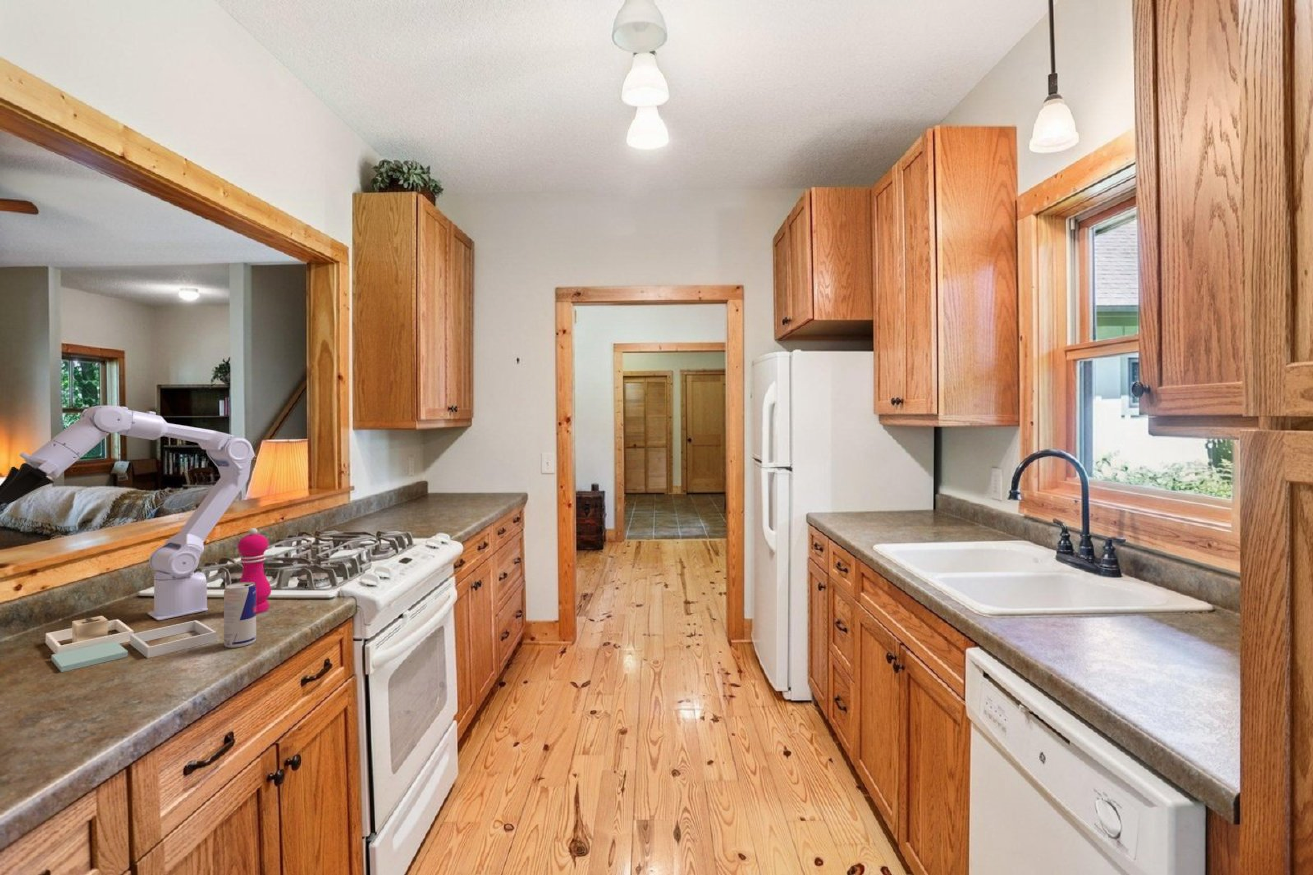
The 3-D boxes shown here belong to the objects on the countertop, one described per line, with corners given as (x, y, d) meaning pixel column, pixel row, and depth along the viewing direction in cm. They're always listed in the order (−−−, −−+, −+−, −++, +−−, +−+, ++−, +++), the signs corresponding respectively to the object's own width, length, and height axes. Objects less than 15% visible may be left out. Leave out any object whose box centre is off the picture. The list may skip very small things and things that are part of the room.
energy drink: (262, 640, 120) (262, 583, 120) (236, 649, 115) (236, 589, 115) (244, 637, 122) (244, 580, 122) (217, 646, 117) (217, 587, 117)
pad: (115, 646, 116) (115, 641, 116) (127, 656, 111) (127, 651, 111) (51, 660, 109) (51, 654, 109) (61, 672, 104) (61, 666, 104)
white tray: (118, 628, 126) (118, 619, 126) (133, 640, 119) (133, 630, 119) (45, 643, 117) (45, 633, 117) (57, 657, 110) (57, 646, 110)
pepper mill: (236, 617, 134) (236, 531, 134) (233, 610, 140) (233, 527, 139) (273, 611, 139) (273, 528, 139) (268, 604, 144) (268, 524, 144)
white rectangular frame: (196, 629, 126) (196, 620, 126) (216, 641, 119) (216, 631, 119) (130, 644, 117) (130, 634, 117) (147, 658, 110) (147, 647, 110)
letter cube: (102, 636, 121) (102, 615, 121) (107, 641, 119) (107, 619, 119) (72, 643, 118) (72, 620, 118) (77, 648, 115) (77, 625, 115)
